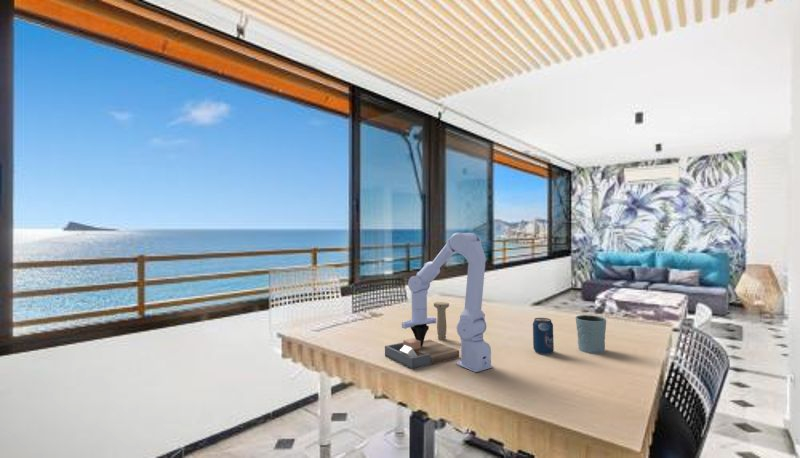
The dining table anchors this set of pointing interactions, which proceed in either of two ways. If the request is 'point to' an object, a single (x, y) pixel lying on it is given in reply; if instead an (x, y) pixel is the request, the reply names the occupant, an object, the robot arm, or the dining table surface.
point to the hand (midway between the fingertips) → (419, 345)
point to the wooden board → (437, 351)
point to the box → (406, 357)
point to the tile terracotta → (412, 343)
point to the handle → (441, 319)
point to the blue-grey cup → (591, 333)
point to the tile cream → (408, 351)
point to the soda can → (543, 336)
